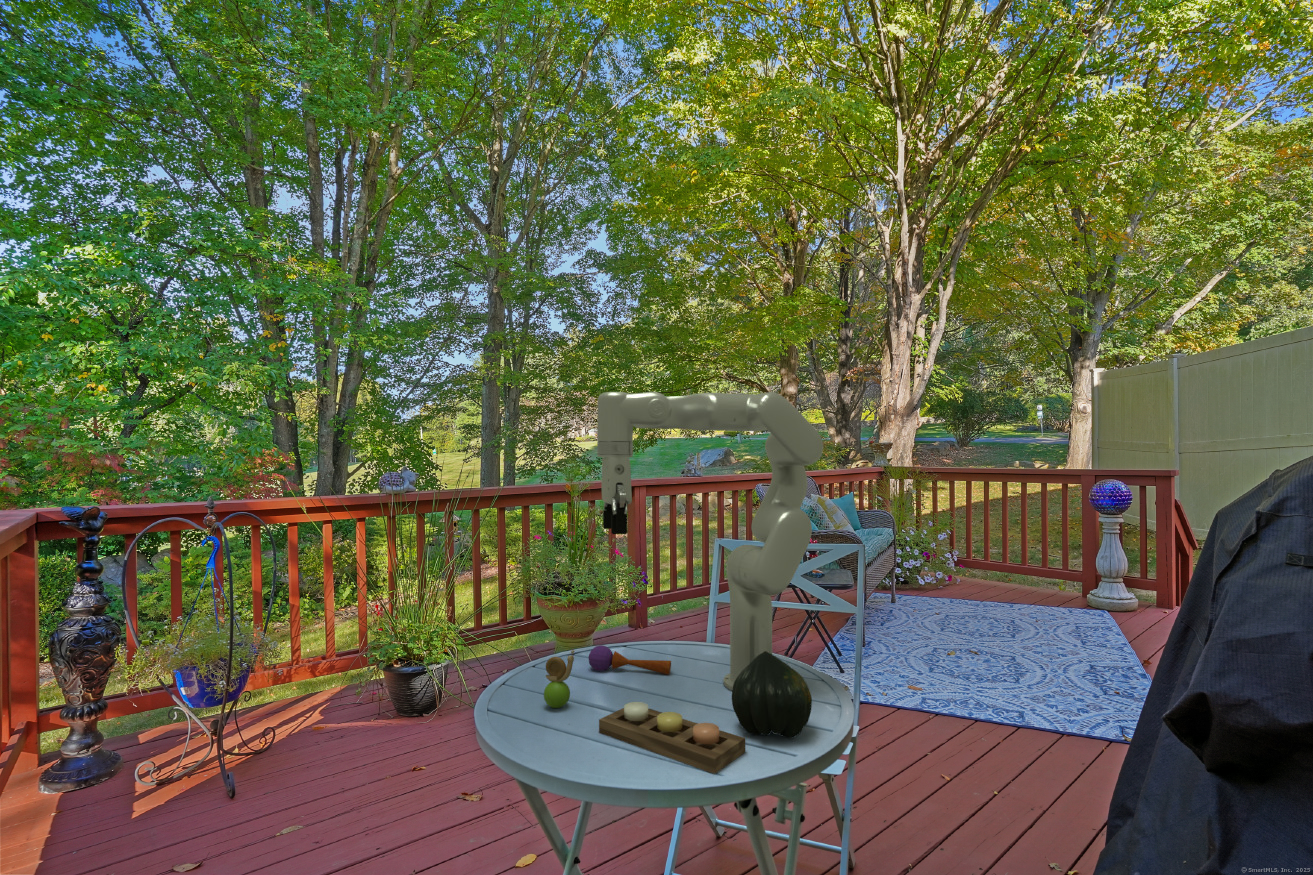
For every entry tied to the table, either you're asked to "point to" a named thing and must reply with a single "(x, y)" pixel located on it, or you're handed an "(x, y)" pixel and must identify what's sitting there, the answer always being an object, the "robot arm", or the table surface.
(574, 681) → the table surface
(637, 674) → the table surface
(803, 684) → the squash
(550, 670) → the snail figurine
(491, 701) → the table surface
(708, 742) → the terracotta button
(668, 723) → the mustard button
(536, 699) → the table surface
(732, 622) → the robot arm
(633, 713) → the cream button
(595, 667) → the purple and brown maraca
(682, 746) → the button panel
